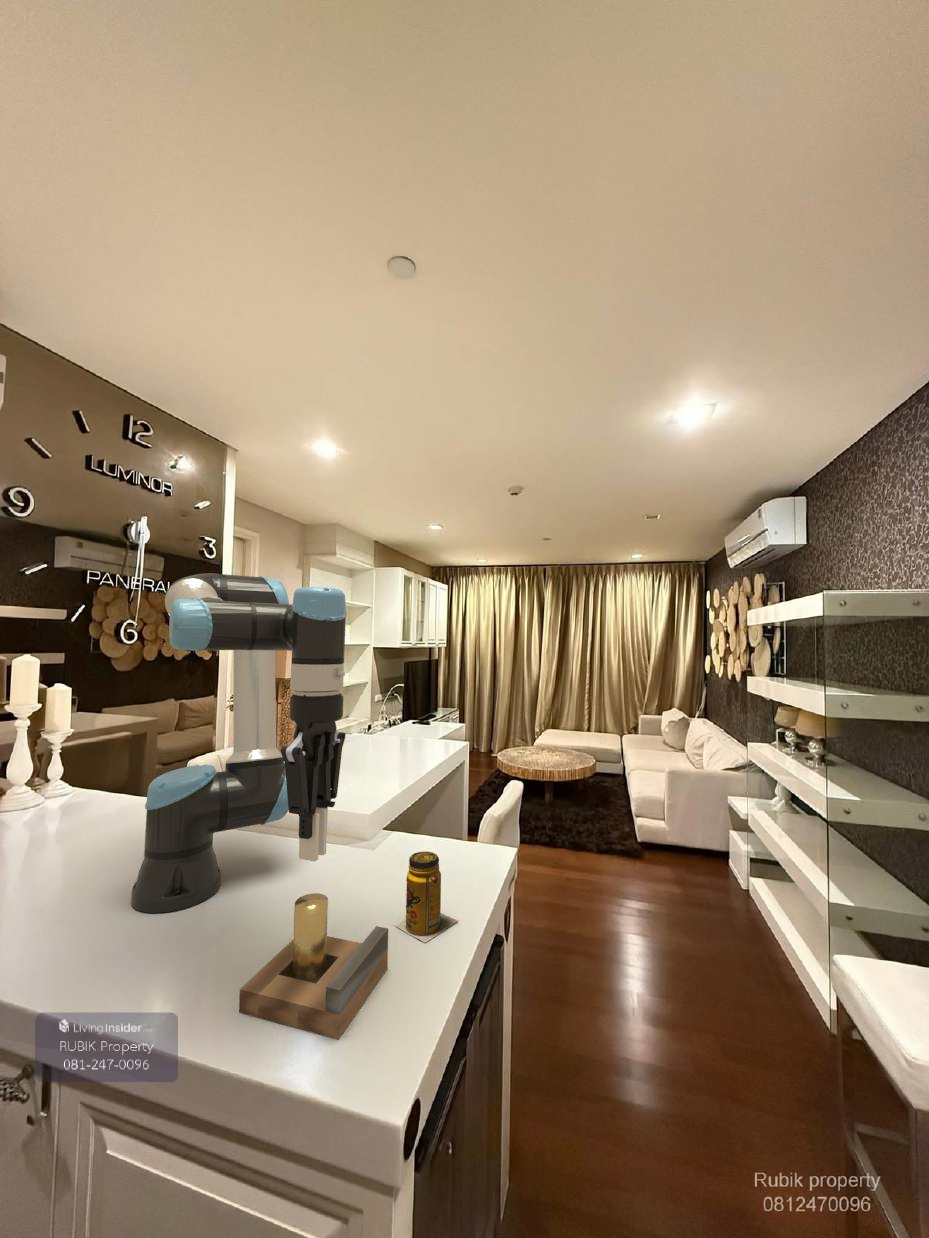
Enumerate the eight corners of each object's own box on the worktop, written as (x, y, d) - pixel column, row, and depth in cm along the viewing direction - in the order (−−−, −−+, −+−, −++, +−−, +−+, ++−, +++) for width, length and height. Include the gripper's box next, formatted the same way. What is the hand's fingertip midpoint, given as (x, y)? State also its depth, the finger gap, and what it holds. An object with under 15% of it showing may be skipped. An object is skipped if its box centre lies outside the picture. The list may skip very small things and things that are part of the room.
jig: (239, 1012, 66) (240, 965, 66) (301, 949, 80) (302, 911, 80) (338, 1039, 62) (340, 989, 62) (387, 968, 75) (388, 928, 76)
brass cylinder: (285, 994, 70) (287, 906, 70) (304, 973, 74) (306, 891, 75) (313, 1001, 68) (316, 912, 69) (331, 979, 73) (334, 896, 73)
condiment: (395, 927, 86) (396, 856, 87) (429, 907, 93) (430, 842, 93) (424, 944, 82) (426, 869, 82) (458, 922, 88) (459, 853, 89)
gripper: (311, 699, 65) (305, 883, 64) (363, 689, 79) (360, 840, 78) (262, 696, 67) (256, 874, 66) (322, 687, 81) (318, 834, 80)
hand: (312, 855), depth 72 cm, fingers closed
